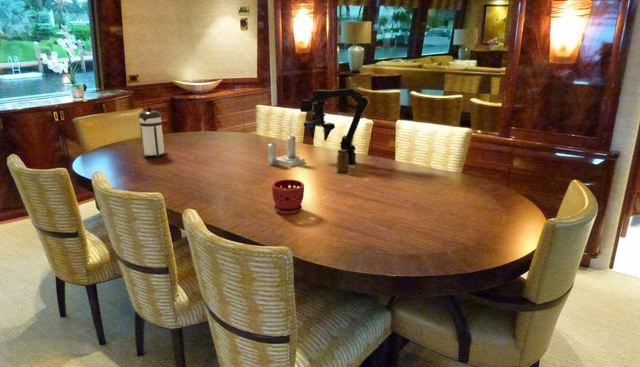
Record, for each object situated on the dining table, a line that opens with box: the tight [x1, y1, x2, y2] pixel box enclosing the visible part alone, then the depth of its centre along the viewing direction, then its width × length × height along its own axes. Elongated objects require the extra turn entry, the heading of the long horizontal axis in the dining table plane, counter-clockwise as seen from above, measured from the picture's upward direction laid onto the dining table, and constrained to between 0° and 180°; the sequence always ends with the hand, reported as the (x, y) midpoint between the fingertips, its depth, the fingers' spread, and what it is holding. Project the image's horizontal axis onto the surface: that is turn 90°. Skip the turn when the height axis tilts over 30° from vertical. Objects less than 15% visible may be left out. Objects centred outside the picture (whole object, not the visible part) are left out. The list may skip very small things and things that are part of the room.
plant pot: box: [271, 179, 305, 215], centre depth 193 cm, size 13×13×12 cm
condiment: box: [333, 148, 353, 175], centre depth 248 cm, size 7×8×12 cm
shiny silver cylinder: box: [286, 135, 297, 159], centre depth 265 cm, size 5×5×12 cm
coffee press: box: [138, 106, 167, 159], centre depth 281 cm, size 17×16×30 cm
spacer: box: [267, 142, 278, 167], centre depth 263 cm, size 5×5×12 cm
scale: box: [277, 154, 306, 168], centre depth 268 cm, size 14×12×3 cm
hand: (319, 139), depth 267 cm, fingers open, 9 cm apart
